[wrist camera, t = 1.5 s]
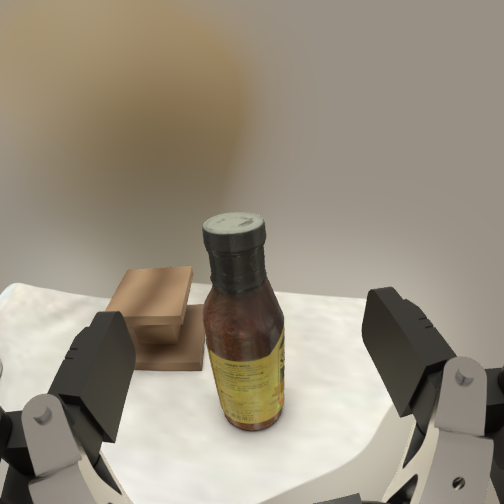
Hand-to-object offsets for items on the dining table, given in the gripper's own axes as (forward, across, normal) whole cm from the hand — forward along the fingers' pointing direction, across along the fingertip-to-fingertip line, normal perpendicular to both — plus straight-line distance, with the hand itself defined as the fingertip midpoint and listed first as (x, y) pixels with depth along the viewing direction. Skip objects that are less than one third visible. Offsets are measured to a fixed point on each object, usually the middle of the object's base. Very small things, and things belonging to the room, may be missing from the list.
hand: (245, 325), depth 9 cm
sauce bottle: (+11, 0, +20) cm, 23 cm away
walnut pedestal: (+22, +11, +20) cm, 32 cm away
